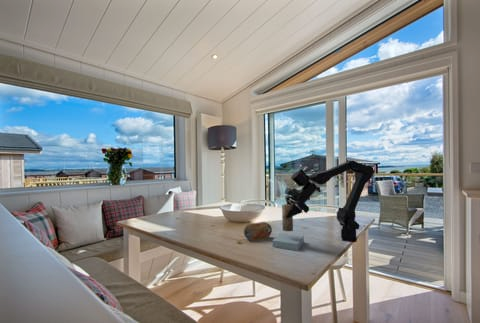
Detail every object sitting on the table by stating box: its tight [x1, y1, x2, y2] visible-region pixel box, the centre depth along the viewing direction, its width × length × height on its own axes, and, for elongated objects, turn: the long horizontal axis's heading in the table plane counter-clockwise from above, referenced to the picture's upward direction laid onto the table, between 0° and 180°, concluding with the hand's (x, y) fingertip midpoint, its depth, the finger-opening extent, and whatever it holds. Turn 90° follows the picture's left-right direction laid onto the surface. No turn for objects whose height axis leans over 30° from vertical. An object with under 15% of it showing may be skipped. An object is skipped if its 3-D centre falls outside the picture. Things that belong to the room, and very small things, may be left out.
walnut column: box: [281, 203, 294, 232], centre depth 113 cm, size 5×5×12 cm
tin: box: [243, 221, 273, 241], centre depth 122 cm, size 15×3×8 cm, turn 105°
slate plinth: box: [272, 232, 305, 251], centre depth 113 cm, size 12×12×3 cm
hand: (284, 216), depth 113 cm, fingers closed on walnut column, 5 cm apart
